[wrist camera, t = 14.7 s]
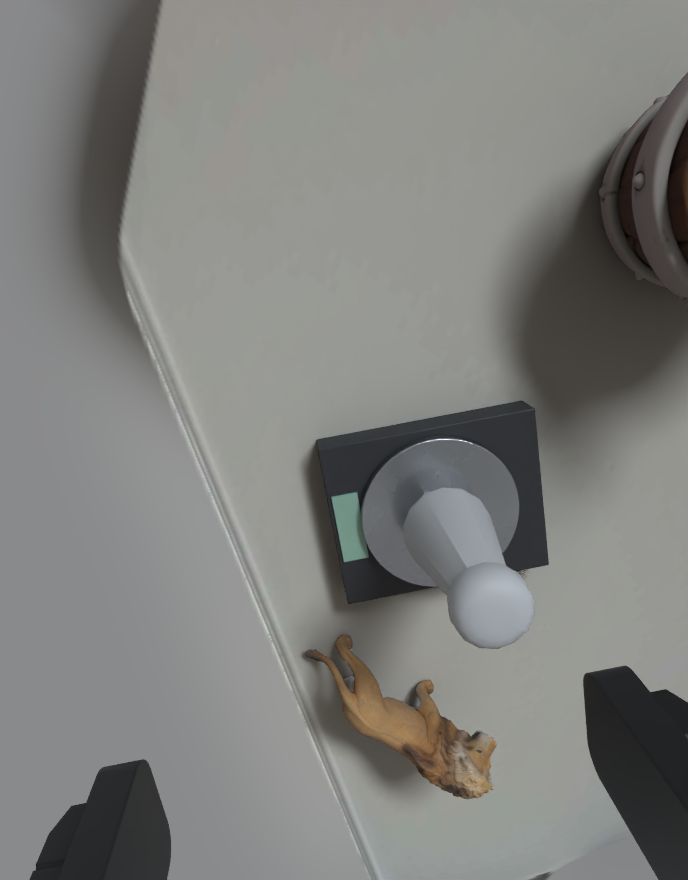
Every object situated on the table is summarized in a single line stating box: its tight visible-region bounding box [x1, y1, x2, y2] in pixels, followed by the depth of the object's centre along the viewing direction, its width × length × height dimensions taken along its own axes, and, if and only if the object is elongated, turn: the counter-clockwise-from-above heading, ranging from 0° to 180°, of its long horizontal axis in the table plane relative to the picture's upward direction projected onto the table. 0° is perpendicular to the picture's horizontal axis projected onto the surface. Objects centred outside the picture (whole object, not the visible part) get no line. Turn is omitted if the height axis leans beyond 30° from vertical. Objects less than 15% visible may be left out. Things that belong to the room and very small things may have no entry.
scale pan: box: [361, 436, 519, 587], centre depth 44 cm, size 11×11×1 cm
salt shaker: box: [403, 488, 534, 649], centre depth 38 cm, size 6×6×13 cm
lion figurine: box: [305, 635, 496, 799], centre depth 47 cm, size 15×5×9 cm, turn 64°
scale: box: [317, 401, 549, 604], centre depth 46 cm, size 15×12×3 cm
